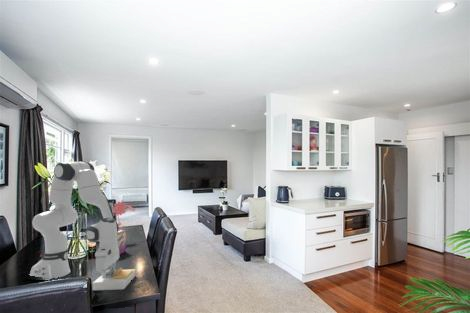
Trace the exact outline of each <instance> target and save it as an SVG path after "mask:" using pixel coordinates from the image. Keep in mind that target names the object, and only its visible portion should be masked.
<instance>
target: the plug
mask: <svg viewBox="0 0 470 313" xmlns="http://www.w3.org/2000/svg"><path fill="white" fill-rule="evenodd" d="M115 270H116V268H115V269H114V270H111V269H106V273H107V277H105V278H112V277H113V276H114V273H115Z"/></svg>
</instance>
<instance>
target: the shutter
mask: <svg viewBox="0 0 470 313" xmlns="http://www.w3.org/2000/svg"><path fill="white" fill-rule="evenodd" d="M115 270H116V271H115V276H114V277H113V279H120V278H127V277H128V276H129V275H130V274H131V273H132V272H133V270H128V269H123V268H122V266H120V267H118V268H117V269H115Z"/></svg>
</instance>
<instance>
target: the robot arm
mask: <svg viewBox="0 0 470 313" xmlns="http://www.w3.org/2000/svg"><path fill="white" fill-rule="evenodd" d="M53 174H54V176H53V178H52V181H51V185H50V191H49V197H48V200H49V202H50V203H51V204H53V205H54V209H53V210H48V211H43V212H41V213H38V214H36V215H35V216H33V219H32V220H31V224H32V228H33V229H34V230H35V231H37V232H39V233H40V234H41V236H43V239H44V249H45V250H44V253H42V254H41V255H40V257H42V258H41V259H40V260H38V262H37V263H36V264H34V265H32V267H31V270H30V272H29V275H30V276H35V277H42V278H43V279H44V278H46V279H45V280H48V281H50V280H49V279H52V278H55V279H59V278H62V277H65V276H67V275H68V274H70V273H71V269H70V265H69V260H68V259H69V249H68V236H67V235H66V234H64V233H61V230H60V228H62V227H67V226H69V225H71V224H74V223H75V222H77V219H78V212H77V210H76V209H75V208H74V207H73V206H72V192H73V187H74V182H75V183H76V185H77V192H78V196H79V198H80V200H81V201H82V202H83V203H86V204H89V205H92V206H96V207H98V208H99V209H100V212H101V215H102V217H103V218H102V219H100V220H99V222H97V223H94V224H90V225H89V226H87V228H86V229H85V239H86V240H87V241H88V242H90V243H95V242H99V247H98V248H97V250H96V251H95V253H94V257H95V270H96V272H97V273H101V275H102V278H105V277H107V273H106V270H108V269H109V268H110V269H109V270H114V269H115V270H116V262H117V261H118V260H119V259H120V254H119V248H118V247H117V239H116V236H117V233H118V231H119V229H120V226H118V221H117V220H116V218H115V214H114V213H113V208H111V204H110V202H109V199H108V197H107V196H106V195H104V193H103V191H102V190H101V186H100V181H99V179H98V176H97V174H96V171H95V167H94V165H93V164H92V163H90V162H86V161H64V162H63V161H62V162H59V163H56V165H55V166H54V169H53ZM58 277H59V278H58ZM52 280H53V279H52ZM48 281H47V282H48Z"/></svg>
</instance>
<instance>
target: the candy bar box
mask: <svg viewBox="0 0 470 313" xmlns="http://www.w3.org/2000/svg"><path fill="white" fill-rule="evenodd" d="M126 233H127V232H126V229H120V230H118V233H117V236H116V239H117V247H118V248H119V255H122V254H123V253H125V252H126V251H127V250H126V248H127V247H126V244H127V243H126V242H127V241H126V240H127V239H126V236H127V234H126Z"/></svg>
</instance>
